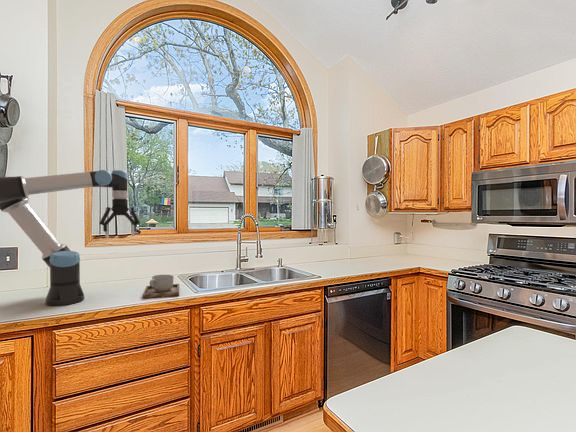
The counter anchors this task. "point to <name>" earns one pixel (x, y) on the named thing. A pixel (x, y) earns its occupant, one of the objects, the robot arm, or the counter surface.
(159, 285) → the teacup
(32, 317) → the counter surface
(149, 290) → the brown wooden tray
